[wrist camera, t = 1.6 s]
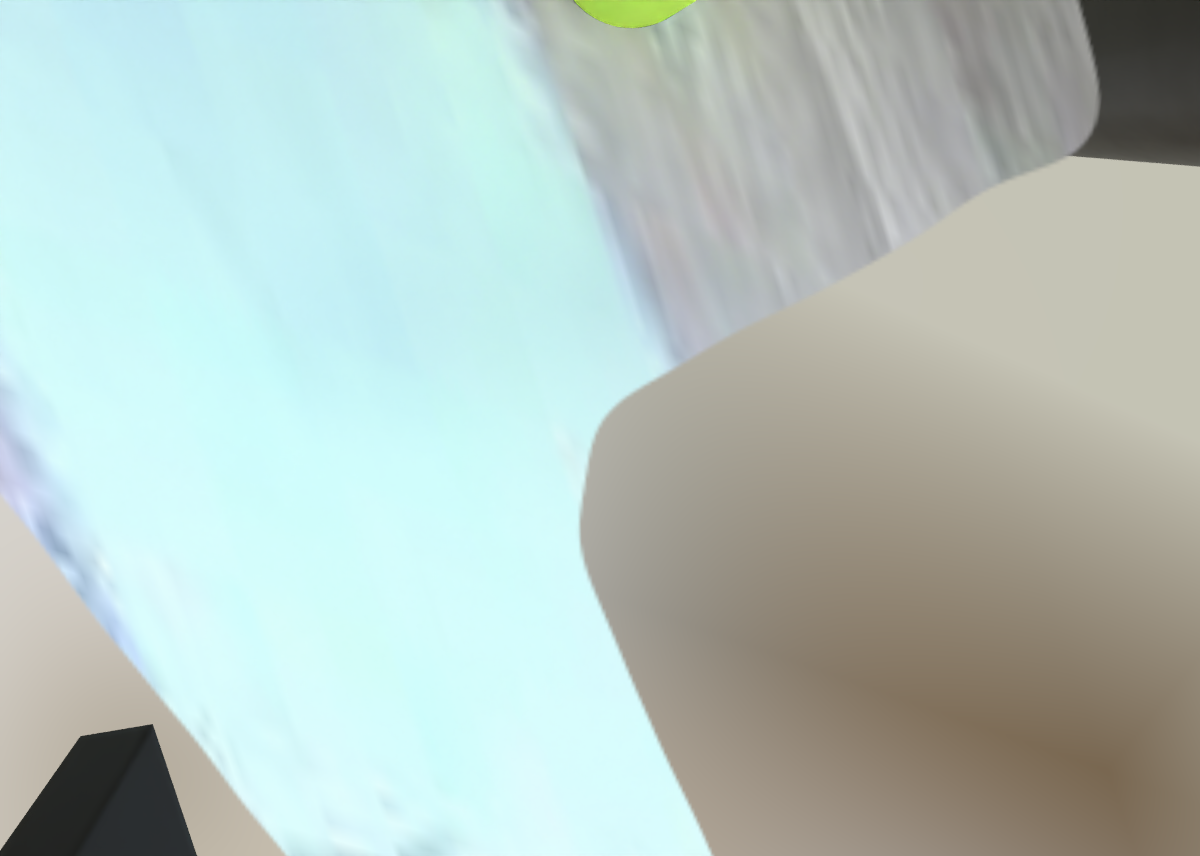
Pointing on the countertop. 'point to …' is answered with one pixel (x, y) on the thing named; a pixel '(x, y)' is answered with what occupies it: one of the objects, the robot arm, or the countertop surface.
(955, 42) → the countertop surface
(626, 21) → the soap dispenser
